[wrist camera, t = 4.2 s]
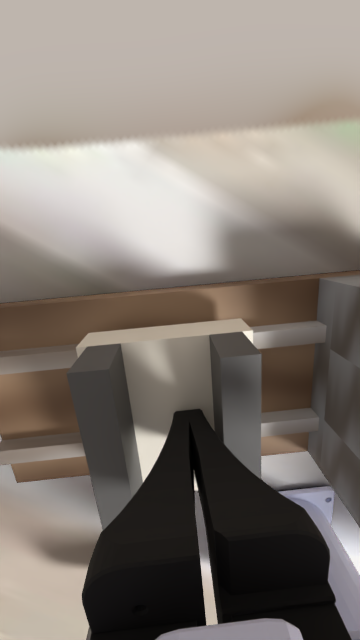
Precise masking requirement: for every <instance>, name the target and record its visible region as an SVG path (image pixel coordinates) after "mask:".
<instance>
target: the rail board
mask: <svg viewBox="0 0 360 640" xmlns="http://www.w3.org/2000/svg"><path fill="white" fill-rule="evenodd" d="M238 318H241V319H242V320H243V321H244V322H245V323H246V324H247V325H248V326H249V327H250V328H251V329H252V330H253V345H254V346H255V347H256V348H257V349H258V350H259V352H260V353H261V354H262V357H261V456H266V455H275V454H284V453H293V452H302V451H308V452H309V454H310V455H311V457H312V458H313V459H314V461H315V462H316V464H317V465H318V467H319V468H320V470H321V471H322V473H323V474H324V476H325V477H326V479H327V480H328V481H329V483H330V484H331V486H332V487H333V489H334V490H335V492H336V493H337V495H338V496H339V498H340V499H341V501H342V502H343V503H344V505H345V506H346V508H347V509H348V511H349V512H350V514H351V515H352V517H353V518H354V520H355V521H356V522H357V524H358V525H359V527H360V270H356V271H345V272H334V273H324V274H313V275H302V276H291V277H280V278H270V279H259V280H248V281H237V282H226V283H216V284H205V285H194V286H183V287H173V288H162V289H151V290H140V291H129V292H119V293H108V294H97V295H86V296H76V297H65V298H54V299H43V300H32V301H22V302H11V303H0V434H1V437H2V441H1V443H0V465H6V464H11V466H12V469H13V472H14V475H15V478H16V481H17V483H19V482H29V481H38V480H47V479H56V478H65V477H74V476H83V475H90V473H89V468H88V464H87V460H86V456H85V451H84V447H83V443H82V439H81V434H80V430H79V426H78V421H77V417H76V413H75V409H74V404H73V400H72V396H71V392H70V387H69V383H68V379H67V374H66V373H67V372H68V371H69V369H70V368H71V367H72V365H73V364H74V363H75V361H76V360H77V359H78V356H77V351H76V347H77V346H78V345H79V343H80V342H81V341H82V340H83V339H84V338H85V336H86V335H87V334H88V333H93V332H103V331H114V330H124V329H135V328H145V327H155V326H166V325H176V324H187V323H197V322H207V321H218V320H228V319H238Z"/></svg>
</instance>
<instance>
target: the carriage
mask: <svg viewBox="0 0 360 640" xmlns="http://www.w3.org/2000/svg"><path fill="white" fill-rule="evenodd" d="M76 351H77V356H78V359H77V360H76V361H75V363H74V364H73V365H72V367H71V368H70V369H69V371H68V372H67V373H66V374H67V379H68V383H69V387H70V392H71V396H72V400H73V404H74V409H75V413H76V417H77V421H78V426H79V430H80V434H81V439H82V443H83V447H84V451H85V456H86V460H87V464H88V468H89V473H90V477H91V481H92V486H93V490H94V494H95V498H96V503H97V507H98V511H99V516H100V520H101V524H102V528H103V530H104V529H105V528H106V527H107V526H108V525H109V524H110V523H111V522H112V521H113V520H114V519H115V517H116V516H117V515H118V514H119V513H120V512H121V511H122V510H123V509H124V507H125V506H126V505H127V503H128V502H129V501H130V500H131V498H132V497H133V496H134V495H135V493H136V492H137V491H138V489H139V488H140V486H141V485H142V484H143V482H144V480H145V479H146V477H147V476H148V474H149V473H150V471H151V469H152V468H153V466H154V464H155V462H156V460H157V458H158V456H159V454H160V452H161V450H162V448H163V446H164V444H165V441H166V439H167V436H168V433H169V431H170V427H171V424H172V420H173V415H174V413H175V412H176V411H183V410H192V409H201V410H202V411H203V414H204V416H205V417H206V419H207V421H208V422H209V424H210V426H211V427H212V428H213V430H214V431H215V433H216V434H217V435H218V437H219V438H220V439H221V441H222V442H223V443H224V444H225V445H226V447H227V448H228V449H229V450H230V451H231V452H232V453H233V454H234V455H235V457H236V458H237V459H238V460H239V461H240V462H241V463H242V464H244V465H245V466H246V467H247V468H248V469H249V470H250V471H251V472H252V473H254V474H255V475H256V476H257V477H259V478H260V479H261V357H262V354H261V353H260V352H259V350H258V349H257V348H256V347H255V346H254V345H253V330H252V329H251V328H250V327H249V326H248V325H247V324H246V323H245V322H244V321H243V320H242V319H241V318H238V319H228V320H218V321H207V322H197V323H187V324H176V325H166V326H155V327H145V328H135V329H124V330H114V331H103V332H93V333H88V334H87V335H86V336H85V338H84V339H83V340H82V341H81V342H80V343H79V345H78V346H77V347H76ZM197 490H198V487H197V482H196V477H195V473H194V491H197Z"/></svg>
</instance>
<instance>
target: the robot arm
mask: <svg viewBox="0 0 360 640" xmlns="http://www.w3.org/2000/svg"><path fill="white" fill-rule="evenodd" d="M194 473H195V477H196V482H197V487H198V492H199V496H200V501H201V506H202V510H203V515H204V521H205V527H206V535H207V542H208V550H209V558H210V566H211V573H212V581H213V589H214V597H215V605H216V612H217V620H218V624H216V625H208V626H206V617H205V607H204V596H203V586H202V576H201V565H200V555H199V546H198V536H197V527H196V518H195V496H194ZM334 496H335V493H334V491H333V489H332V488H331V487H329V486H324V487H315V488H306V489H298V490H289V491H280V492H277V491H276V490H274V489H273V488H271V487H270V486H269V485H267V484H266V483H265V482H264V481H262V480H261V479H260V478H259V477H257V476H256V475H255V474H254V473H252V472H251V471H250V470H249V469H248V468H247V467H246V466H245V465H244V464H242V463H241V462H240V461H239V460H238V459H237V458H236V457H235V455H234V454H233V453H232V452H231V451H230V450H229V449H228V448H227V447H226V445H225V444H224V443H223V442H222V441H221V439H220V438H219V437H218V435H217V434H216V433H215V431H214V430H213V428H212V427H211V426H210V424H209V422H208V421H207V419H206V417H205V416H204V414H203V411H202V410H201V409H192V410H183V411H176V412H175V413H174V415H173V420H172V424H171V427H170V431H169V433H168V436H167V439H166V441H165V444H164V446H163V448H162V450H161V452H160V454H159V456H158V458H157V460H156V462H155V464H154V466H153V468H152V469H151V471H150V473H149V474H148V476H147V477H146V479H145V480H144V482H143V484H142V485H141V486H140V488H139V489H138V491H137V492H136V493H135V495H134V496H133V497H132V498H131V500H130V501H129V502H128V503H127V505H126V506H125V507H124V509H123V510H122V511H121V512H120V513H119V514H118V515H117V516H116V517H115V519H114V520H113V521H112V522H111V523H110V524H109V525H108V526H107V527H106V528H105V529H104V530H103V531H102V532H101V534H100V536H99V539H98V541H97V544H96V546H95V549H94V552H93V555H92V557H91V560H90V563H89V567H88V571H87V575H86V579H85V584H84V588H83V592H82V602H83V606H84V610H85V613H86V616H87V620H88V623H89V626H90V630H91V637H90V640H360V575H359V573H358V571H357V570H356V568H355V566H354V564H353V563H352V561H351V559H350V558H349V556H348V554H347V552H346V551H345V549H344V547H343V546H342V544H341V542H340V540H339V539H338V537H337V535H336V534H335V532H334V530H333V528H332V527H331V522H332V514H333V505H334Z"/></svg>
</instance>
